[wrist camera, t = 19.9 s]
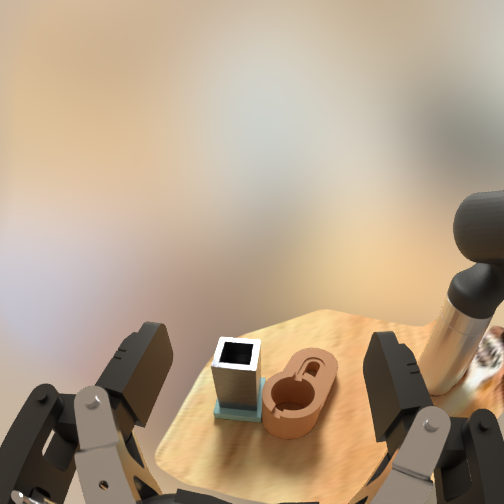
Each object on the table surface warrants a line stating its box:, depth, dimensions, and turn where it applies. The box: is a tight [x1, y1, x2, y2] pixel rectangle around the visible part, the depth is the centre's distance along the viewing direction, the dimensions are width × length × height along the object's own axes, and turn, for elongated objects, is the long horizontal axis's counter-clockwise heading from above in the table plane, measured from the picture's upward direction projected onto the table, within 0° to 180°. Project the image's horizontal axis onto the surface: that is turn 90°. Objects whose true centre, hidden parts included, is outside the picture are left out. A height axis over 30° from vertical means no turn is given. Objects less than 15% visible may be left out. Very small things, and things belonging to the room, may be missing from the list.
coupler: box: [211, 337, 261, 411], centre depth 36 cm, size 6×6×10 cm
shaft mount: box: [214, 378, 265, 422], centre depth 37 cm, size 7×8×7 cm
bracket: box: [262, 348, 338, 439], centre depth 38 cm, size 18×8×7 cm, turn 151°
